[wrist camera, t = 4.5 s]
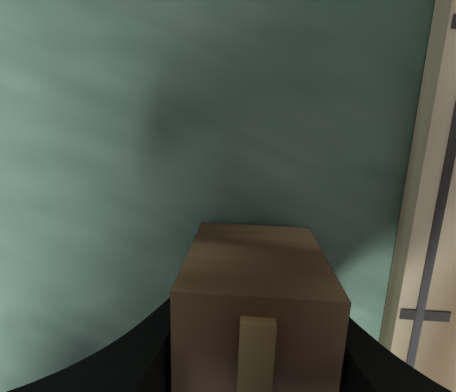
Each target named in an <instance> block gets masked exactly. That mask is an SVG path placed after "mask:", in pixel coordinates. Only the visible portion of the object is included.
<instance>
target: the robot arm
mask: <svg viewBox="0 0 456 392" xmlns="http://www.w3.org/2000/svg"><path fill="white" fill-rule="evenodd" d="M7 392H171V316H170V298H169V299H167V300H166V301H165V302H164V303H163V304H162V305H161V306H160V307H159V308H158V309H156V310H155V311H154V312H153V313H152V314H151V315H149V316H148V317H147V318H146V319H145V320H143V321H142V322H141V323H140V324H138V325H137V326H136V327H134V328H133V329H132V330H130V331H129V332H128V333H126V334H125V335H124V336H122V337H121V338H119V339H118V340H116V341H114V342H113V343H111V344H110V345H108V346H106V347H105V348H103V349H101V350H100V351H98V352H96V353H94V354H92V355H90V356H89V357H87V358H85V359H83V360H81V361H79V362H77V363H75V364H73V365H71V366H69V367H67V368H65V369H63V370H61V371H58V372H56V373H54V374H52V375H49V376H47V377H45V378H42V379H40V380H37V381H35V382H32V383H30V384H27V385H25V386H22V387H19V388H16V389H13V390H10V391H7ZM339 392H452V391H450V390H448V389H447V388H445V387H443V386H441V385H440V384H438V383H436V382H435V381H433V380H431V379H430V378H428V377H427V376H425V375H423V374H422V373H420V372H419V371H417V370H416V369H414V368H413V367H412V366H410V365H409V364H407V363H406V362H404V361H403V360H401V359H400V358H398V357H397V356H396V355H394V354H393V353H392V352H390V351H389V350H388V349H387V348H385V347H384V346H383V345H381V344H380V343H379V342H378V341H376V340H375V339H374V338H373V337H372V336H370V335H369V334H368V333H367V332H366V331H364V330H363V329H362V328H361V327H360V326H359V325H358V324H356V323H355V322H354V321H353V320H352V319H351V318H350V317H349V322H348V329H347V336H346V344H345V351H344V358H343V366H342V373H341V380H340V388H339Z"/></svg>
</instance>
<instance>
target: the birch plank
mask: <svg viewBox="0 0 456 392" xmlns="http://www.w3.org/2000/svg"><path fill="white" fill-rule="evenodd" d="M379 343H380V344H381V345H383V346H384V347H385V348H387V349H388V350H389V351H390V352H392V353H393V354H394V355H396V356H397V357H398V358H400V359H401V360H403V361H404V362H406V363H407V364H409V365H410V366H412V367H413V368H414V369H416V370H417V371H419V372H420V373H422V374H423V375H425V376H427V377H428V378H430V379H431V380H433V381H435V382H436V383H438V384H440V385H441V386H443V387H445V388H447V389H448V390H450V391H452V392H456V0H435V5H434V11H433V17H432V23H431V30H430V36H429V42H428V48H427V54H426V60H425V66H424V72H423V78H422V84H421V90H420V96H419V102H418V109H417V115H416V121H415V127H414V133H413V139H412V145H411V151H410V157H409V163H408V169H407V175H406V181H405V187H404V194H403V200H402V206H401V212H400V218H399V224H398V230H397V236H396V242H395V248H394V254H393V260H392V266H391V273H390V279H389V285H388V291H387V297H386V303H385V309H384V315H383V321H382V327H381V333H380V339H379Z"/></svg>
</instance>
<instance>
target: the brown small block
mask: <svg viewBox="0 0 456 392" xmlns="http://www.w3.org/2000/svg"><path fill="white" fill-rule="evenodd" d="M350 307H351V302H350V300H349V298H348V296H347V294H346V293H345V291H344V289H343V287H342V286H341V284H340V282H339V280H338V278H337V277H336V275H335V273H334V271H333V269H332V268H331V266H330V264H329V262H328V260H327V259H326V257H325V255H324V253H323V252H322V250H321V248H320V246H319V244H318V243H317V241H316V239H315V237H314V235H313V234H312V232H311V230H310V228H305V227H286V226H266V225H246V224H227V223H207V222H202V223H201V225H200V227H199V230H198V232H197V234H196V236H195V238H194V240H193V243H192V245H191V247H190V249H189V251H188V254H187V256H186V258H185V260H184V262H183V265H182V267H181V269H180V271H179V273H178V275H177V278H176V280H175V282H174V284H173V286H172V289H171V291H170V316H171V392H339V388H340V380H341V373H342V366H343V358H344V351H345V344H346V336H347V329H348V322H349V315H350Z"/></svg>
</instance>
